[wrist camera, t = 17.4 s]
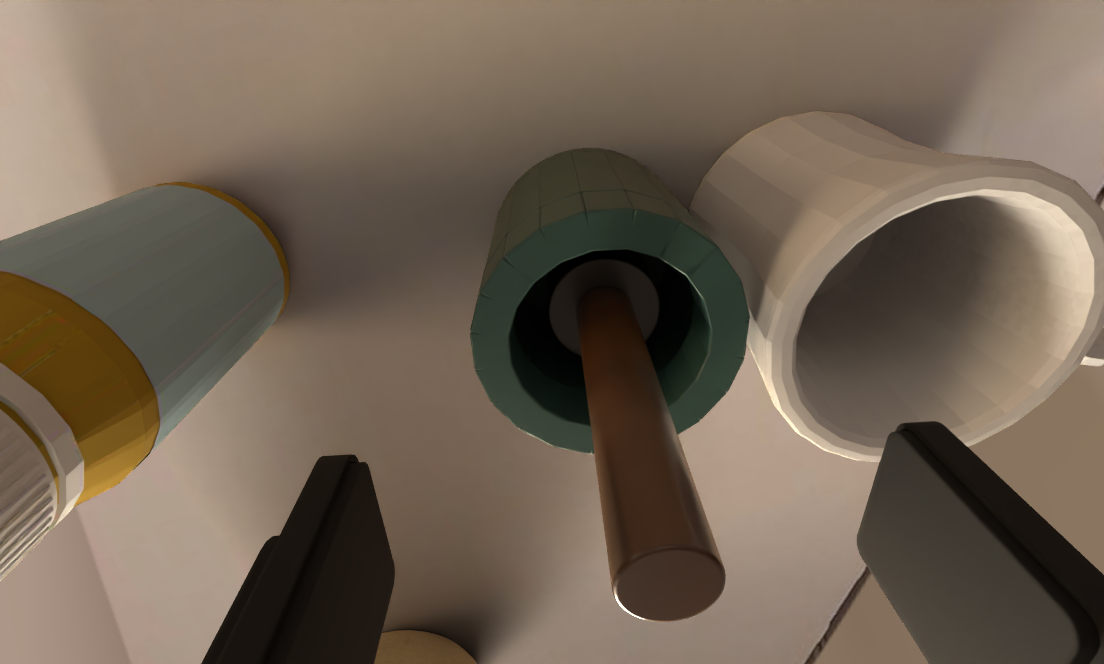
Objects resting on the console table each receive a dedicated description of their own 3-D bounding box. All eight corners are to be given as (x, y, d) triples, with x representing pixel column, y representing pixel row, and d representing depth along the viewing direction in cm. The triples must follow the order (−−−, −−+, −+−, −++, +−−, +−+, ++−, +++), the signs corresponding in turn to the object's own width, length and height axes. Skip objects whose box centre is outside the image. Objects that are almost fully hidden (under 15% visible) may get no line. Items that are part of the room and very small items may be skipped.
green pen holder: (502, 328, 25) (485, 459, 17) (485, 152, 22) (454, 216, 14) (672, 320, 25) (733, 448, 17) (684, 143, 22) (767, 201, 14)
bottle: (316, 325, 25) (65, 643, 12) (166, 340, 25) (-246, 669, 12) (264, 169, 22) (-162, 365, 9) (92, 187, 22) (-581, 406, 9)
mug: (652, 299, 25) (714, 442, 16) (724, 83, 21) (861, 113, 12) (900, 349, 26) (1084, 505, 17) (1014, 155, 22) (1328, 230, 13)
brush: (548, 291, 24) (559, 662, 10) (543, 208, 22) (549, 508, 8) (632, 287, 24) (768, 652, 10) (634, 204, 22) (804, 497, 8)
